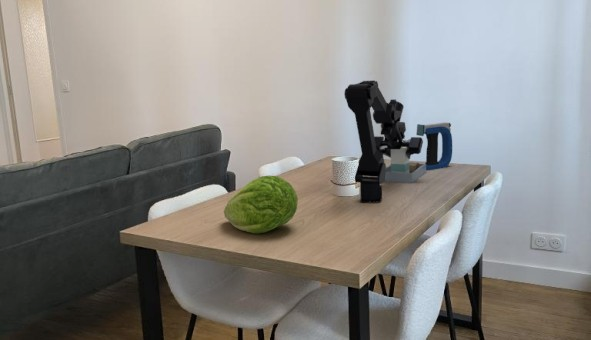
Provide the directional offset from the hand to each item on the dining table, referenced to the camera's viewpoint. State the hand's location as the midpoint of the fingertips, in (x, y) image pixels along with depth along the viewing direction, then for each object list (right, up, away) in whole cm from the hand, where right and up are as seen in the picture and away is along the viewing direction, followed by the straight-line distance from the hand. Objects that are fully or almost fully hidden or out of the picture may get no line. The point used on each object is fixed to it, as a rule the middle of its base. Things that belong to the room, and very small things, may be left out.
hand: (401, 157), depth 193 cm
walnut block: (+4, -6, +8) cm, 11 cm away
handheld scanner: (+17, -5, +16) cm, 24 cm away
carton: (0, -8, 0) cm, 8 cm away
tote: (+1, -8, +3) cm, 9 cm away
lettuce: (-51, -21, -51) cm, 75 cm away
